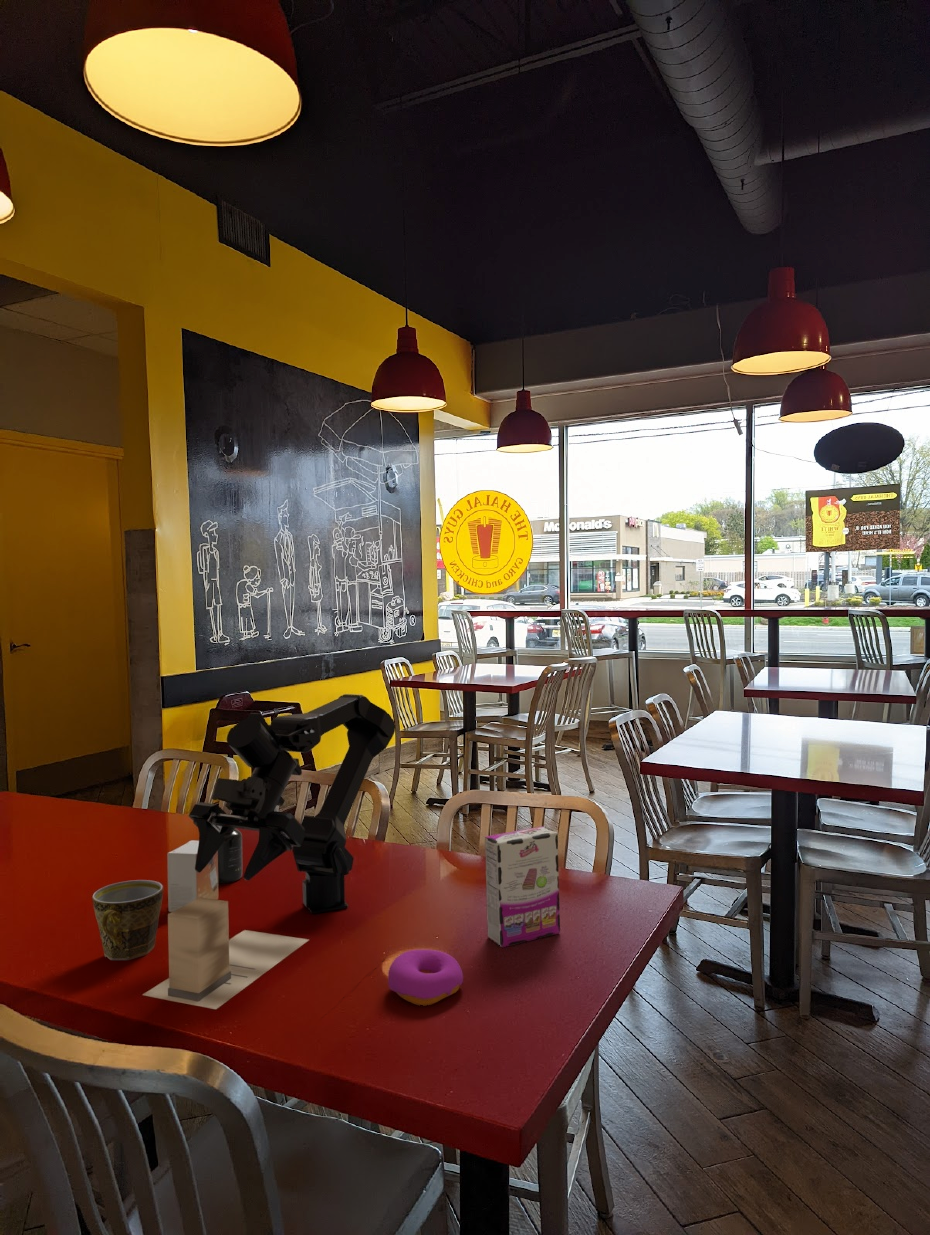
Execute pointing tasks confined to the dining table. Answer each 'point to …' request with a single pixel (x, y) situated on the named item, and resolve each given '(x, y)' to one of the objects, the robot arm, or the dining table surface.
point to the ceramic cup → (128, 917)
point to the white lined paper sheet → (241, 966)
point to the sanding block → (198, 948)
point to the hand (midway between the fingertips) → (220, 875)
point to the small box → (190, 877)
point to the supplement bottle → (230, 858)
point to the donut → (424, 976)
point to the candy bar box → (522, 885)
